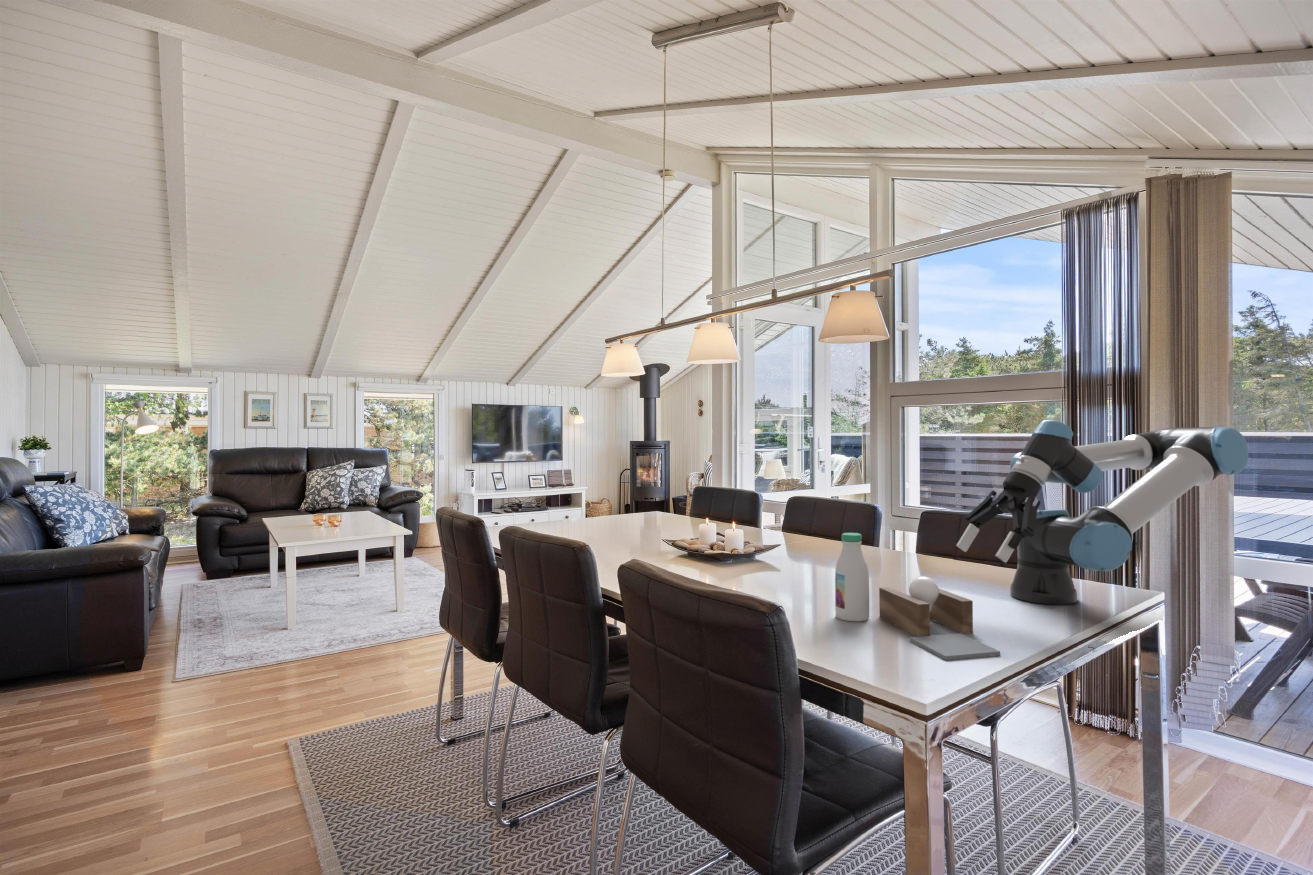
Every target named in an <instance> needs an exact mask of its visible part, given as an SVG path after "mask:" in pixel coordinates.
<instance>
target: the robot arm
mask: <svg viewBox="0 0 1313 875" xmlns="http://www.w3.org/2000/svg"><path fill="white" fill-rule="evenodd" d="M1073 436H1074V431H1072V428H1071V427H1069V426H1068V425H1067V424H1066V423H1064V422H1061V421H1059V420H1055V419H1044V420H1042V421H1041V422H1040V423H1039V424H1038V425H1037V427H1036V428H1035V430H1034V431H1033V432H1032V433H1031V435H1030V437H1029V439H1028V441H1027V443H1026V444H1025V446H1024V447H1023V450H1022V451H1020V452H1018V453H1016V454H1014V455H1013V456H1012V458H1011V460H1010V463H1009V466H1010V471H1009V472H1008V474H1007V475H1006V477H1005V479H1004V480H1003V482H1002V487H1003V490H1002V491H1001V492H1000V493H999V492H996V491H995V490H991V491H990V492H989V494H988V495H987V496H986V498H985V499H983V500H982V501H981V502H980V503H979V504H978V505H976V507H975V508H973V509H972V511H970V512H969V513H968V514H966V516H965V517H964V520H965V521H966V522H967V523H968V524H967V526H966V527H965V529H964V531H963V533H962V535H961V537H960V539H959V540H958V542H957V543H956V545H955V546H956V547H957V548H959V549H960V550H961V551H962V552H965V553H967V551H968V550H969V548H970V547H971V545H972V543H974V542H973V541H974V540H975V538H976V537H977V535H978V534H979V532H980V530H981V529H980V527H981V526H983V525H984V524H986V523H987V522H989V521H990V520H992V519H994V518H995V517H997V516H998V515H1003V514H1011V517H1012V526H1013V527H1012V529H1011V531H1009V532H1008V534H1007V535H1006V538H1005V539H1004V540H1003V542H1002V544H1001V545H1000V547H999V549H998V551H997V552H996V553H995V557H996V558H998V559H999V560H1000V561H1002V562H1003V563H1007V562H1008V561H1009V559H1010V557H1011V556H1012V554H1013V552H1015V549H1017V567H1016V570H1015V573H1014V577H1013V579H1012V580H1013V581H1012V582H1011V584H1010V592H1009V593H1010V596H1011V597H1013V598H1016V599H1018V600H1020V601H1021V600H1022V601H1023V602H1024V601H1025V602H1030V603H1035V604H1041V605H1042V604H1043V605H1044V604H1045V605H1072V604H1075V603H1077V602H1078V591H1077V589H1076V588H1075V585H1074V584H1075V583H1074V581H1073V577H1072V575H1071V573H1070V565H1071V566H1075V567H1079V568H1082V569H1085V570H1088V571H1096V572H1097V571H1098V572H1110V571H1114V570H1116V569H1118V568H1120V567H1121V566H1122V565H1124V564H1125V563H1126V562H1127V561H1128V559H1129V557H1130V554H1129V552H1131V551H1132V550H1133V549H1132V547H1133V540H1134V533H1135V532H1137V531H1138V530H1139V529H1140V528H1142V527H1143V526H1145V525H1146V524H1147V523H1148V522H1149V521H1151V520H1153V519H1154V518H1155V516H1157V515H1158V514H1160V513H1161V512H1163V511H1164V510H1166V508H1167V507H1169V506H1170V505H1172V504H1173V503H1174V502H1175V501H1177V500H1178V499H1179V498H1180V497H1182V496H1183V495H1184V494H1186V493H1187V492H1188V491H1189V490H1191V489H1192V488H1194V487H1195V486H1196V487H1201V486H1203V487H1204V486H1207V485H1208V484H1210V483H1211V482H1212V481H1214V480H1215V479H1216V478H1218V477H1219V476H1221V475H1226V476H1232V475H1237V474H1240V473H1241V472H1242V471H1244V469H1245V468H1246V466H1247V464H1248V460H1249V447H1248V444H1247V441H1246V439H1245V437H1244V436H1243V434H1242V433H1241V432H1240V431H1239V430H1238V429H1235V428H1233V427H1225V426H1223V427H1222V426H1214V427H1209V426H1208V427H1206V426H1204V427H1203V426H1202V427H1168V428H1162V429H1157V430H1152V431H1147V432H1143V433H1136V434H1130V435H1127V436H1125V437H1124V438H1123V439H1121V440H1115V441H1114V440H1113V441H1112V440H1111V441H1106V442H1098V443H1091V444H1085V445H1076V446H1074V445H1073V444H1072V442H1071V441H1072V440H1073ZM1128 468H1129V469H1131V470H1135V471H1141V470H1149V471H1148V472H1147V473H1145V474H1144V475H1142V476H1141V477H1140V478H1139V479H1138V480H1136V481H1135V482H1133V483H1131V485H1129V486H1128V487H1127V488H1125V489H1124V490H1123V491H1121V492H1120V493H1119V494H1118V495H1117V496H1115V497H1114V498H1112V499H1111V500H1110V501H1108V502H1107V503H1106V504H1104V505H1103V506H1098V505H1095V506H1092V507H1091V506H1090V507H1088V509H1086V510H1085V511H1084V512H1082V513H1081V514H1080V515H1079V516H1076V517H1074V516H1070V514H1069V511H1068V510H1067V509H1047V510H1046V509H1042V510H1040V509H1039V507H1040V505H1041V500H1039V499H1038V498H1037V496H1038V494H1039V492H1040V491H1041V489H1042V486H1044V485H1045V483H1052V484H1064V485H1068V486H1069V487H1070V489H1072V490H1075V491H1076V492H1077V493H1080V494H1087V493H1090V492H1093V491H1094V490H1095V489H1097V488H1098V487H1099V486H1100V485H1101V483H1102V481H1103V479H1104V472H1108V471H1115V470H1120V469H1128ZM1038 509H1039V510H1038Z"/></svg>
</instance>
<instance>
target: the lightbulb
mask: <svg viewBox="0 0 1313 875" xmlns="http://www.w3.org/2000/svg"><path fill="white" fill-rule="evenodd" d="M939 589H940V587H939V585H938V584H937V582H936V581H935V580H934V579H933V578H931V577H928V576H925V575H921V576H916V577H915V578H914V579H912V580H911V582H910V583H909V586H908V592H909V596H912V597H914V598H917V599H919V600H921V601H924V602H926V603H929V613H930V612H931V610H932V606H933V604H934V602H935V601H936V600H937V598H938V595H939ZM930 615H931V614H930Z"/></svg>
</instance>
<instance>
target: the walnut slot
mask: <svg viewBox="0 0 1313 875" xmlns="http://www.w3.org/2000/svg"><path fill="white" fill-rule="evenodd" d="M878 592H879V594H878V596H879V597H878V598H879V603H878V604H879V618H881V619H883V620H884V621H887V622H889V623H890V624H892V625H894V626H896V627H898V628H900V629H903V630H904V631H906V632H909V633H910V634H912V635H914V636H915V637H922V636H931V634H930V632H931V629H930V626H931V625H930V623H931V621H934V622H936V623H938V624H941V625H942V626H944V627H947V628H948V629H949V628H950V629H952V630H954V631H956V632H958V633H961V634H963V635H965V634H973V633H974V628H973V627H974V621H973V620H974V617H973V615H974V614H973V613H974V612H973V610H974V609H973V607H974V606H973V605H974V604H973V600H971V599H969V598H966V597H963V596H961V595H958V594H955V593H952V592H950V591H947V590H944V589H942V588H939V595H938V598H937V600H936V601H935V602H934V604H933V606H932V610H931V612H930V613H929V603H926V602H924V601H921V600H919V599H917V598H914V597H912V596H910V594H907V593H905V592H902V591H899V590H896V589H894V588H893V587H890V586H884V587H879V590H878ZM930 614H931V615H930Z"/></svg>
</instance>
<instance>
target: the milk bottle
mask: <svg viewBox="0 0 1313 875" xmlns="http://www.w3.org/2000/svg"><path fill="white" fill-rule="evenodd" d="M862 540H863V536H862V534H861V533H858V532H844V533H842V534H841V543H842V547H841V552H840V554H839V556H838V558H837V560H836V563H835V564H836V565H835V570H834V571H835V573H834V574H835V575H834V577H835V578H834V580H835V581H834V582H835V583H834V587H835V588H834V590H835V594H834V595H835V597H834V598H835V600H834V601H835V604H834V605H835V608H834V609H835V616H836V618H837V619H839V620H842V621H846V622H865V621H867V620H869V618H870V572H869V566H868V563H867V560H866V558H865V555H864V553H863V550H862V545H861V544H862V542H863V541H862Z"/></svg>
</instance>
